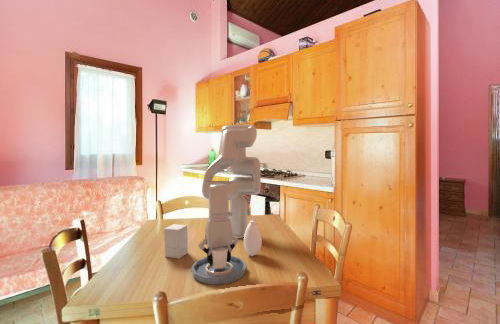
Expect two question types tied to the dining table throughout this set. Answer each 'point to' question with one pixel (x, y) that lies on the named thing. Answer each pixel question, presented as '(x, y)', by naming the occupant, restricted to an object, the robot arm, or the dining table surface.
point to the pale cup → (219, 257)
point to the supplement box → (176, 241)
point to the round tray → (218, 271)
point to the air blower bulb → (252, 238)
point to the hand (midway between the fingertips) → (219, 262)
